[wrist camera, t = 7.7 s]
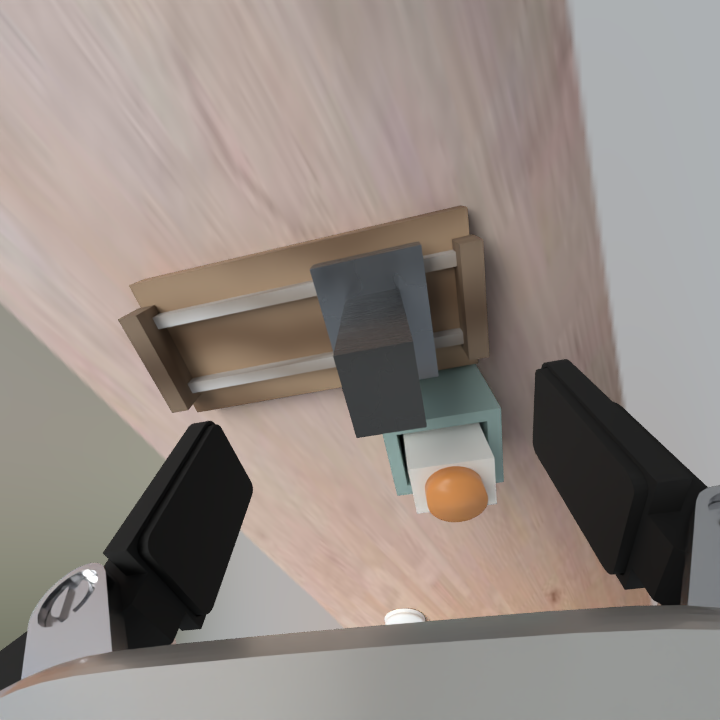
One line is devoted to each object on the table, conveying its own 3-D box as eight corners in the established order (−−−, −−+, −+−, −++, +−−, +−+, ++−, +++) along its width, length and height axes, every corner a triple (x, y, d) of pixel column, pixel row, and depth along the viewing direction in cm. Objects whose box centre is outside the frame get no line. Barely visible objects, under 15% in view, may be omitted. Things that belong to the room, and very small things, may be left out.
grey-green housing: (378, 376, 26) (380, 426, 20) (472, 359, 25) (500, 407, 19) (393, 438, 28) (398, 497, 23) (477, 425, 27) (503, 483, 22)
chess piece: (426, 628, 42) (441, 745, 33) (387, 630, 43) (391, 746, 34) (423, 606, 40) (437, 726, 31) (381, 609, 41) (385, 728, 32)
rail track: (140, 280, 23) (103, 295, 20) (464, 204, 20) (481, 208, 17) (203, 401, 27) (182, 429, 24) (475, 353, 24) (490, 377, 21)
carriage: (312, 264, 19) (277, 314, 12) (418, 240, 18) (449, 278, 11) (346, 382, 23) (334, 476, 15) (435, 367, 22) (467, 457, 15)
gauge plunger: (400, 414, 23) (409, 484, 18) (469, 403, 22) (500, 472, 17) (408, 453, 24) (419, 529, 19) (473, 444, 24) (502, 519, 19)
